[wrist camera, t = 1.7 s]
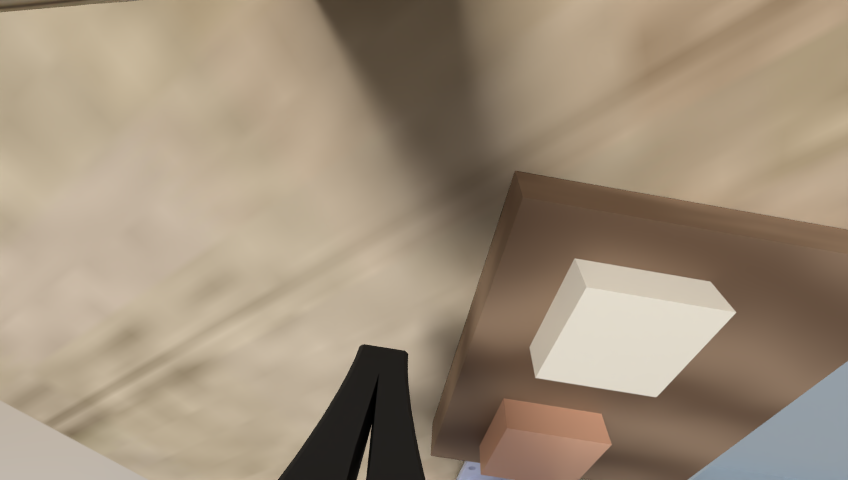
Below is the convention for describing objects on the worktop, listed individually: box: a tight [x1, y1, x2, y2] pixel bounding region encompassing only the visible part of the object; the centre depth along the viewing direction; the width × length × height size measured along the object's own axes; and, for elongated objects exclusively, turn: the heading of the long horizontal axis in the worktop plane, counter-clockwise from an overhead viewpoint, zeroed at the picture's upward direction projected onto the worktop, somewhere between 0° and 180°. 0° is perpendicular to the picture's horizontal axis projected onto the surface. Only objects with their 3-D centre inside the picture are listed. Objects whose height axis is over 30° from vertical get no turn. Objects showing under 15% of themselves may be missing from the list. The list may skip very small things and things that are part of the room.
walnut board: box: [431, 171, 848, 480], centre depth 18 cm, size 18×15×2 cm
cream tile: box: [529, 259, 736, 397], centre depth 14 cm, size 5×5×2 cm
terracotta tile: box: [479, 398, 612, 480], centre depth 19 cm, size 5×5×2 cm
